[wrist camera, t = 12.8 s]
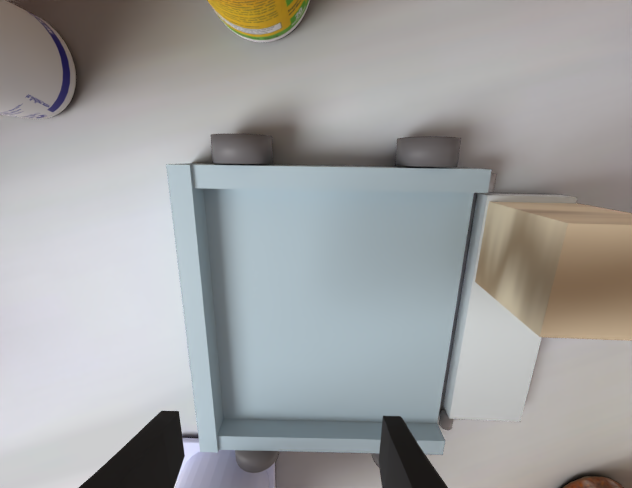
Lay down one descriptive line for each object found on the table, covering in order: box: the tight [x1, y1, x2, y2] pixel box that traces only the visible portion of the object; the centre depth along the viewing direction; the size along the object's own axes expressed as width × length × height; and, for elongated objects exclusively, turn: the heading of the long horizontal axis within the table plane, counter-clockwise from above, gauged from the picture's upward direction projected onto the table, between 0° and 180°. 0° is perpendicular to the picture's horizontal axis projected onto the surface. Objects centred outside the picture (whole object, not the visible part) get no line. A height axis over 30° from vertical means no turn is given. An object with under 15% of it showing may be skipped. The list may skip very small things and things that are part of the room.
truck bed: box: [166, 134, 496, 473], centre depth 19 cm, size 22×18×3 cm
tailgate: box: [443, 193, 577, 422], centre depth 20 cm, size 16×2×5 cm
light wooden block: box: [475, 202, 632, 341], centre depth 15 cm, size 5×5×6 cm
